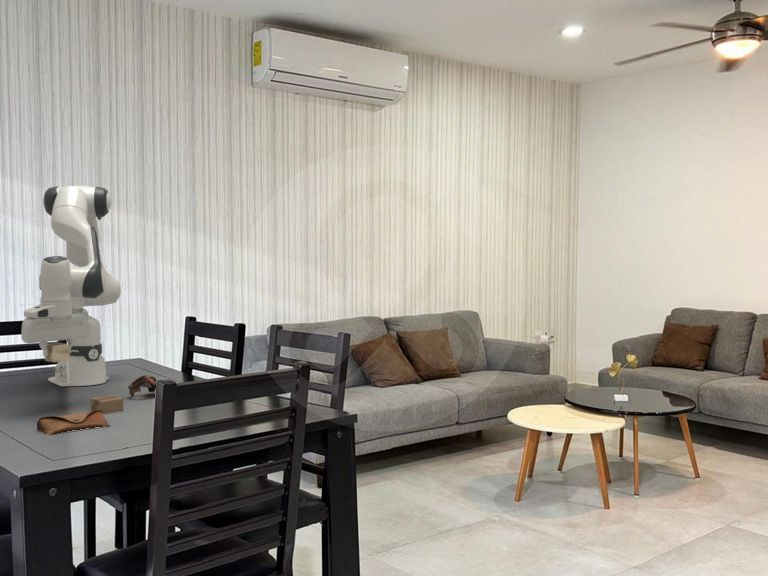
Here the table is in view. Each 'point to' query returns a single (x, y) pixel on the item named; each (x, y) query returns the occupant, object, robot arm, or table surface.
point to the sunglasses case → (71, 422)
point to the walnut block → (107, 404)
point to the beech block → (58, 352)
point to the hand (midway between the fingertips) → (57, 355)
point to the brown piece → (142, 384)
